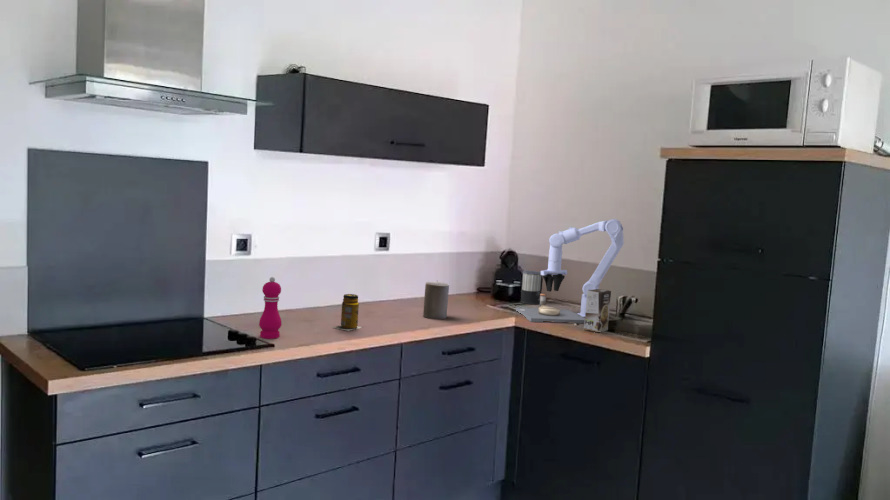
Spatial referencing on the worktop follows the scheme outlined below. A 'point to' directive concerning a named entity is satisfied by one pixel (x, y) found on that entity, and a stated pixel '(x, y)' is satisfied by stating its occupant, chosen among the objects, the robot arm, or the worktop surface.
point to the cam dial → (545, 309)
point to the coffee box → (597, 309)
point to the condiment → (349, 313)
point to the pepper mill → (270, 311)
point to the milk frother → (531, 287)
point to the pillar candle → (436, 300)
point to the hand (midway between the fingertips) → (552, 291)
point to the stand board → (550, 316)
